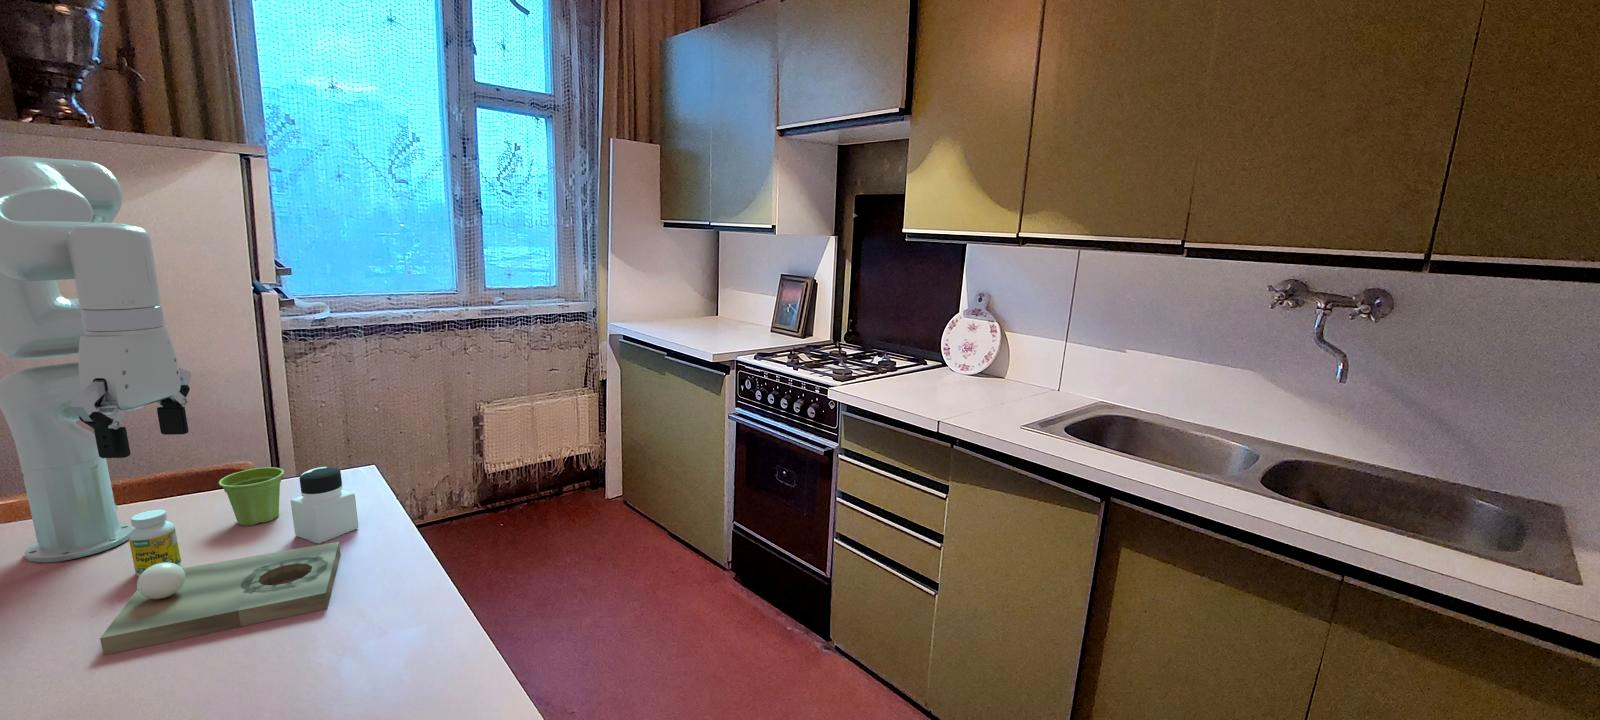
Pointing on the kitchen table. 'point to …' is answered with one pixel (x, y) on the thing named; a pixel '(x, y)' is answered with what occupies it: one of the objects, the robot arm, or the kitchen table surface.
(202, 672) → the kitchen table surface
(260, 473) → the plant pot
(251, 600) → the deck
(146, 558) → the supplement bottle
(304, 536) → the medicine bottle
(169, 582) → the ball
